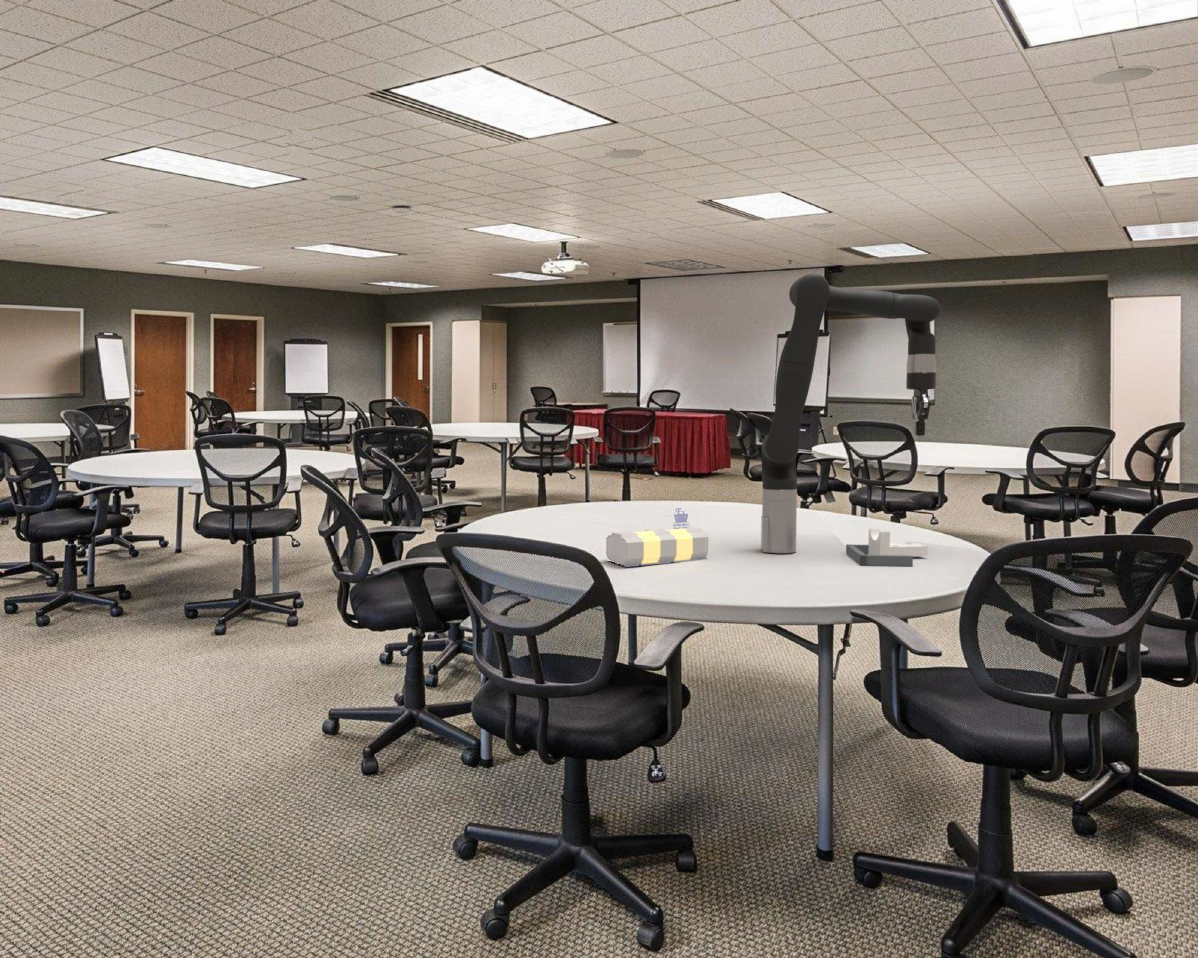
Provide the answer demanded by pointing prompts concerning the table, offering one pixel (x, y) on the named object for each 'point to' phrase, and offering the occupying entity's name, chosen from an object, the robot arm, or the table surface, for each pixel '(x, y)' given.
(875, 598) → the table surface
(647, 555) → the grey yellow banded block
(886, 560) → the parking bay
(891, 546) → the bracket
